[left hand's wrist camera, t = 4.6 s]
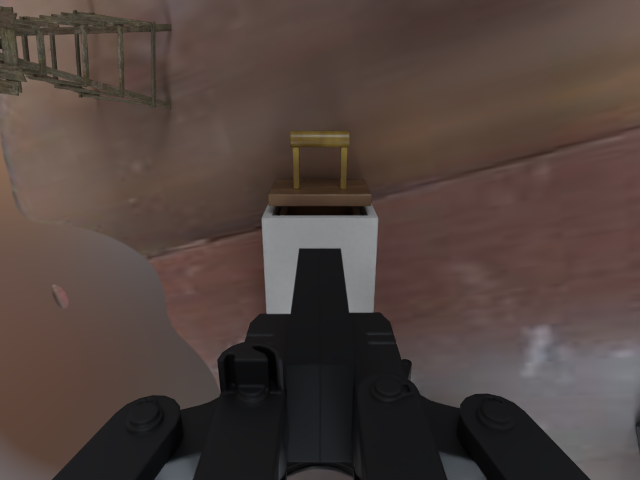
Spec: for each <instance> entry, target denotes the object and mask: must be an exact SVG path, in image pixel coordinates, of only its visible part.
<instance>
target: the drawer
mask: <svg viewBox="0 0 640 480" xmlns="http://www.w3.org/2000/svg"><path fill="white" fill-rule="evenodd" d="M349 143H350V133H349V131H291V132H290V145H291V147H293V180H275V182H274V184H273V186H272V188H271V190H270V192H269V194H268V205H269V206H282V208H281V211H280V214H279V216H361V215H360V212H359V209H358V206H371V200H372V195H371V193H370V191H369V189H368V187H367V185H366V183H365V181H364V180H346V175H347V147H349ZM299 147H341V166H340V180H300V177H299Z"/></svg>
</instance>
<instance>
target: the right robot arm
mask: <svg viewBox="0 0 640 480" xmlns="http://www.w3.org/2000/svg"><path fill="white" fill-rule="evenodd" d="M402 364H403V367H404V370H405V374H406V377H407V379H408V380H410V378H411V367H412V362H411V361H410V360H407V359H402ZM286 470H287V480H353V470H354V464H353V460H352V462H288V460H287V466H286Z"/></svg>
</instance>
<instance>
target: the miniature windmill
mask: <svg viewBox="0 0 640 480" xmlns="http://www.w3.org/2000/svg"><path fill="white" fill-rule="evenodd" d="M63 15H65V16H63ZM16 16H17V13H13V7H1V6H0V36H1V39H0V49H2V50H3V53H0V78H2V79H6V80H2V79H0V93H3V94H10V95H17V96H19V92H20V93H22V86H21V81H23V82H27V81H26V79H25V76H24V74H25V75H26V77H27V78H29V79H32V80H40V81H45V82H48V83H51V84H54V88H59V89H66V90H71V91H74V92H77V93H79V97H80V98H81V97H89V98H95V99H104V100H111V101H118V102H126V103H133V104H140V105H148V106H152V108H155V107H156V105H157V106H160V107H163V108H167V109H171V104H170V103H167V102H164V101H160V100H157V99H156V80H155V31H171V24H155V22H152V23H151V22H144V21H137V20H130V19H123V18H116V17H110V16H103V15H96V14H94V13H82V12H77V11H76V10H74V11H73V14H71V13H64V12H61V15H56V14H51V16H44V15H39V17H40V18H35V17H27V16H26V17H20V16H19V19H20V20H19V19H16ZM57 24H63V25H72V26H74V27H59V25H57ZM106 24H108V25H115V26H106ZM124 24H126V25H124ZM141 24H146V25H141ZM88 25H96V26H88ZM40 26H43V27H49V28H40ZM78 26H80V27H78ZM123 32H151V74H152V98H150V97H147V96H144V95H140V94H137V93H134V92H130V91H127V90H124V61H123ZM90 33H118V57H119V86H120V88H117V87H113V86H110V85H107V84H103V83H100V82H97V81H93V80H90V79H89V63H88V46H87V34H90ZM60 34H75V47H76V62H77V75H73V74H70V73H66V72H63V71H60V70H57V61H56V49H55V37H54V35H60ZM79 34H81V45H82V61H83V76H84V78H83V77H81V64H80V48H79ZM29 35H36V40H37V50H38V60H39V64H36V63H33V62H30V59H29V49H28V40H27V36H29ZM43 35H50V45H51V57H52V68H50V67H46V58H45V47H44V36H43ZM16 36H21V37H22V46H23V55H24V60H23V59H20V58H18V50H17V42H16ZM21 66H22V67H21ZM24 67H25V68H24ZM31 69H32V70H31ZM47 74H50V75H53V78H52V77H50V76H47ZM58 77H60V78H63V79H67V80H70V81H74V82H69V81H62V80H58ZM75 85H76V86H75ZM82 86H83V87H87V86H91V87H94V88H98V89H101V90H105V91H108V92H112V93H107V92H100V91H93V90H87V89H84V88H82ZM99 94H102V95H110V96H117V97H124V96H126V97H129V98H132V99H136V100H139V101H143V102H137V101H129V100H122V99H115V98H108V97H100V96H99ZM144 102H146V103H144Z"/></svg>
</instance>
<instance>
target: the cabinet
mask: <svg viewBox="0 0 640 480" xmlns="http://www.w3.org/2000/svg"><path fill="white" fill-rule="evenodd" d="M281 208H282V206H269V205H267V208H266V210H265V212H264V214H263V216H262V236H263V255H264V275H265V294H266V313H267V314H291V306H292V299H293V291H294V284H295V276H296V268H297V261H298V253H299V248H341V253H342V261H343V268H344V276H345V284H346V291H347V299H348V306H349V313H373V310H374V291H375V271H376V252H377V232H378V217H377V215H376V212H375V210H374V208H373V206H372V204H371V206H358V209H359V212H360V215H361V216H279V214H280V211H281Z"/></svg>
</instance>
